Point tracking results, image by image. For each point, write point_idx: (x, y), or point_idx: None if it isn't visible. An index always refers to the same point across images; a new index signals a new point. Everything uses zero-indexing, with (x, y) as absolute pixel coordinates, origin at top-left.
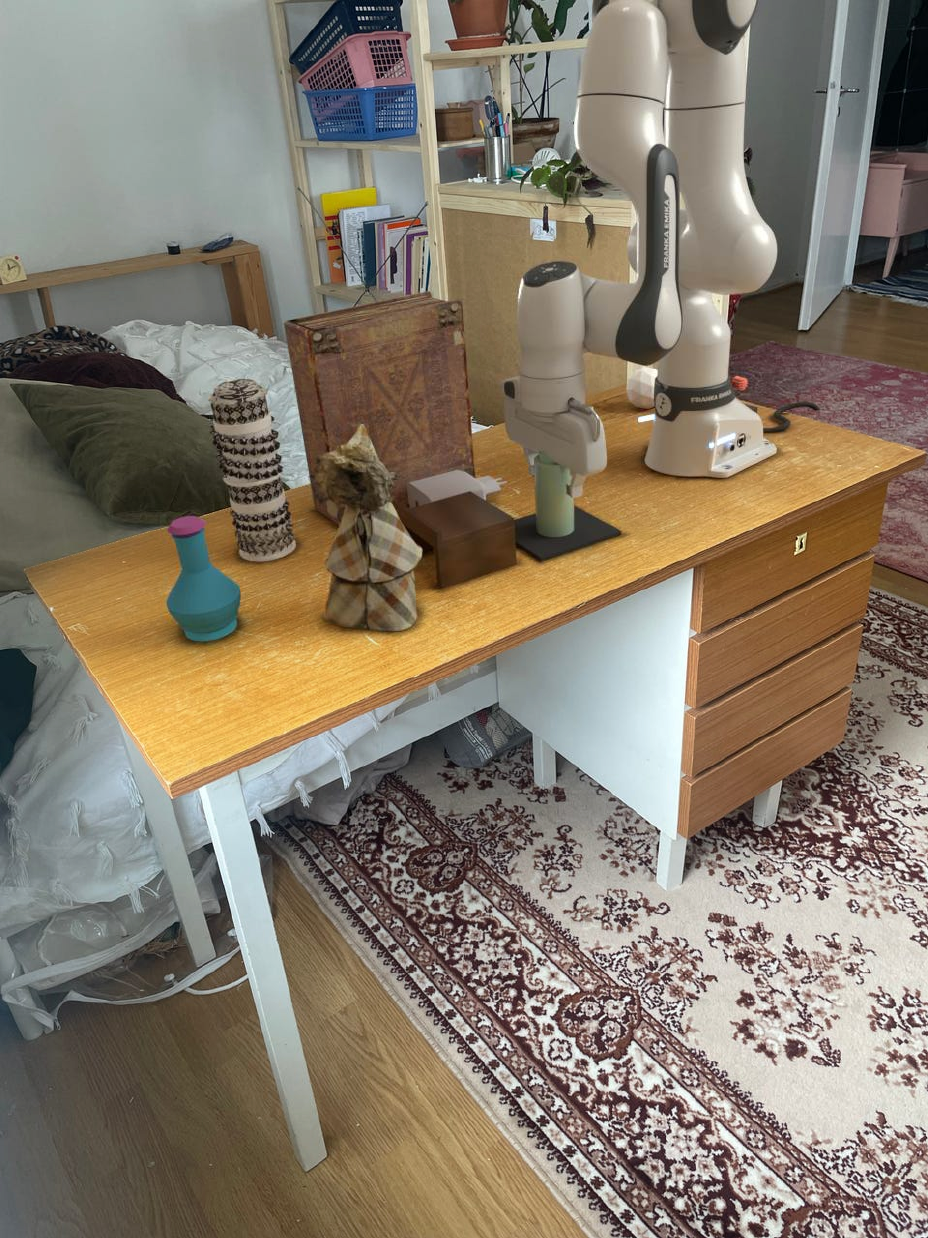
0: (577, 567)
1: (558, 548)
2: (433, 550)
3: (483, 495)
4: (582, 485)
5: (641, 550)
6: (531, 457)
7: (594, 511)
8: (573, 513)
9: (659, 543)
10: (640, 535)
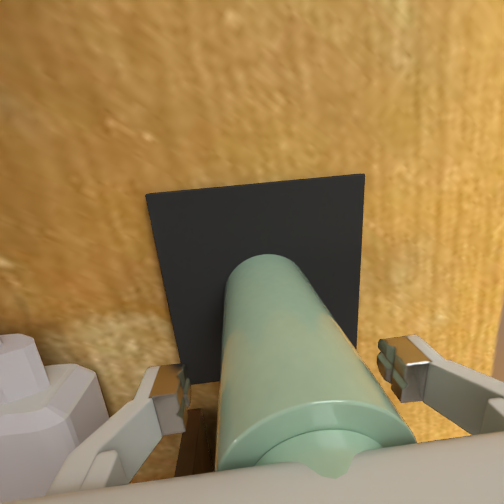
0: (410, 318)
1: (344, 324)
2: (213, 471)
3: (76, 402)
4: (440, 355)
5: (445, 180)
6: (134, 459)
7: (210, 154)
8: (309, 283)
9: (451, 122)
10: (391, 135)
